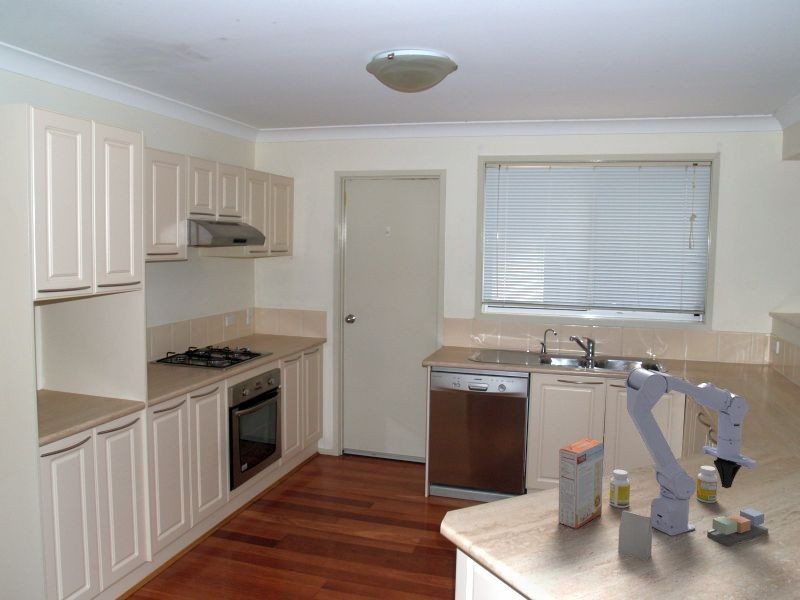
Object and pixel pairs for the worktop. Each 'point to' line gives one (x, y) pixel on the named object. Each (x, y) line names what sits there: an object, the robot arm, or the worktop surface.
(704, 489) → the supplement bottle
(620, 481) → the supplement bottle
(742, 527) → the terracotta key
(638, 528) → the grey rectangular block
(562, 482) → the cracker box
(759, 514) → the light blue square block
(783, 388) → the worktop surface
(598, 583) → the worktop surface
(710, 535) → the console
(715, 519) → the sage key
